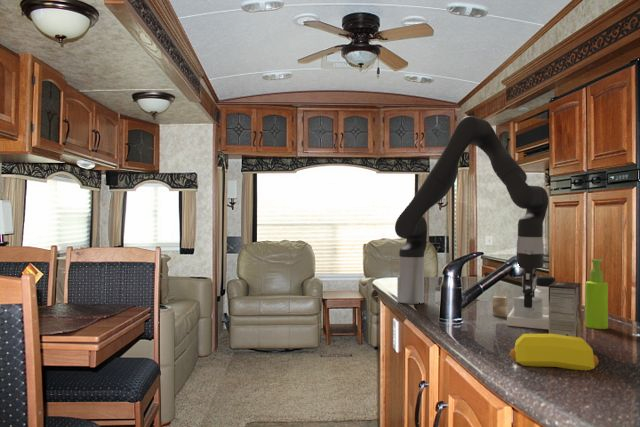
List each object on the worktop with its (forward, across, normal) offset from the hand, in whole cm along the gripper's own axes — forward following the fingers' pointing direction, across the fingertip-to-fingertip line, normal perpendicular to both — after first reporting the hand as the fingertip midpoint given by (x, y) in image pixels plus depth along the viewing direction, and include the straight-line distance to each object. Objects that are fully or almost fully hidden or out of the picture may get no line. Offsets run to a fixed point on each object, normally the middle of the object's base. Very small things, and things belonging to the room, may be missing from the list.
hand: (529, 305), depth 154 cm
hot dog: (+6, +43, +8) cm, 44 cm away
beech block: (+6, -11, -10) cm, 16 cm away
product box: (+5, 0, 0) cm, 5 cm away
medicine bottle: (+6, -26, +3) cm, 27 cm away
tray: (+6, -6, 0) cm, 8 cm away
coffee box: (+6, +27, +10) cm, 30 cm away
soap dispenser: (+6, -6, +18) cm, 20 cm away
